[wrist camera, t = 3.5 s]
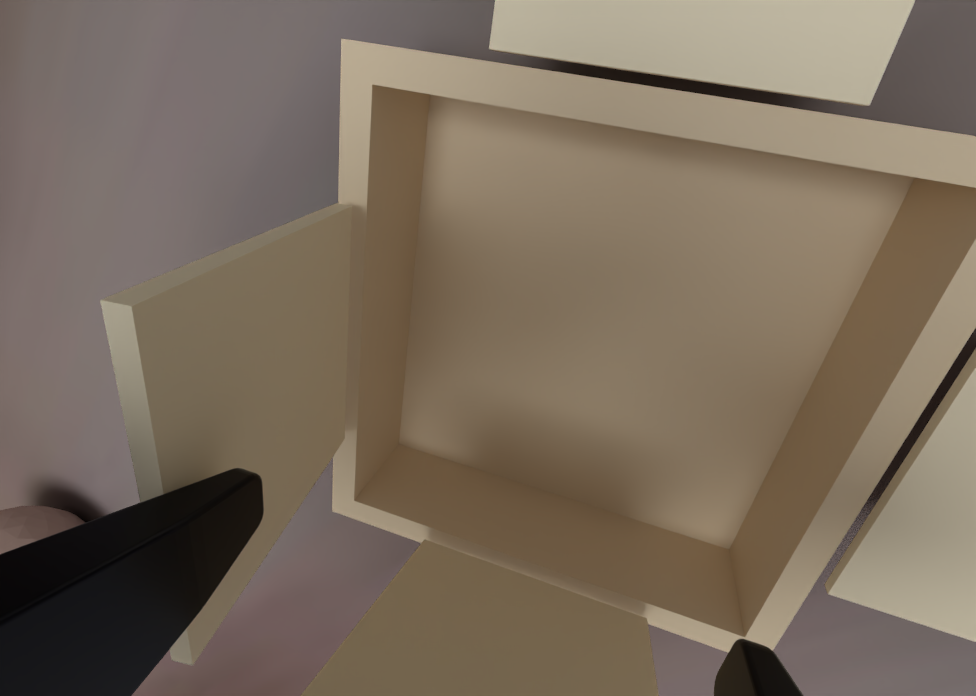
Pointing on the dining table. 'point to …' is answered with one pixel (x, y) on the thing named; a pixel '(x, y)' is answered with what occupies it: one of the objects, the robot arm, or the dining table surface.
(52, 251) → the dining table surface
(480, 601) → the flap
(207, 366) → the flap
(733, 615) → the carton
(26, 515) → the egg
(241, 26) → the dining table surface
